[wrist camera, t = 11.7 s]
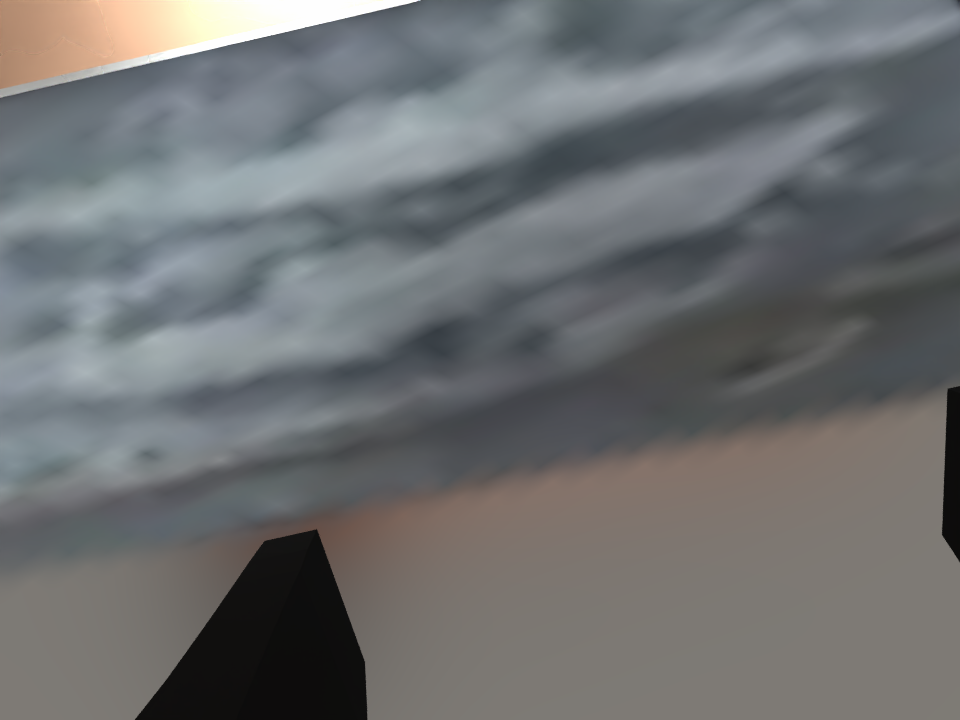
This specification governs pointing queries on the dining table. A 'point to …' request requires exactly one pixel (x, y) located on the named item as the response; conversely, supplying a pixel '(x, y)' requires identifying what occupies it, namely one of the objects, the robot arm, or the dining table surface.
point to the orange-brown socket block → (140, 32)
